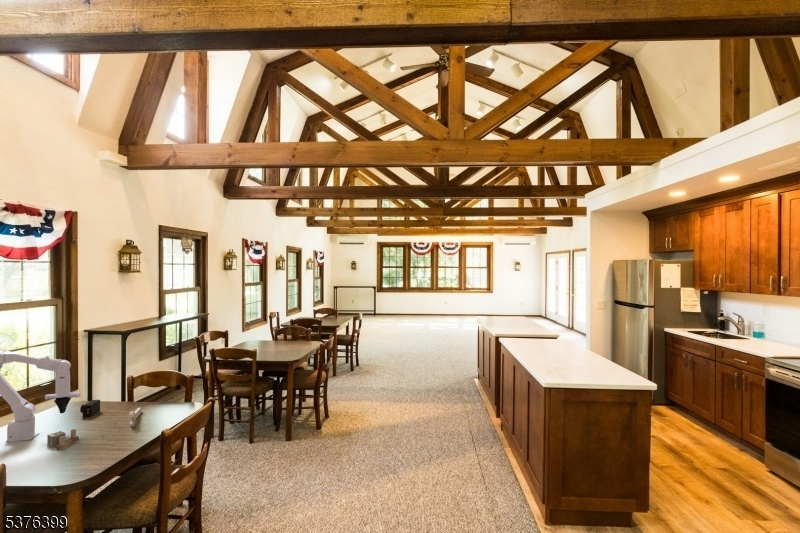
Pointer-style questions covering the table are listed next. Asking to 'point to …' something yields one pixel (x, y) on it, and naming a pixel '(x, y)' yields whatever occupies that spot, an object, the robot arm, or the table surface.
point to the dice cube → (54, 438)
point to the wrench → (134, 416)
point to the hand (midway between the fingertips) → (62, 412)
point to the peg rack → (69, 441)
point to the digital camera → (90, 408)
